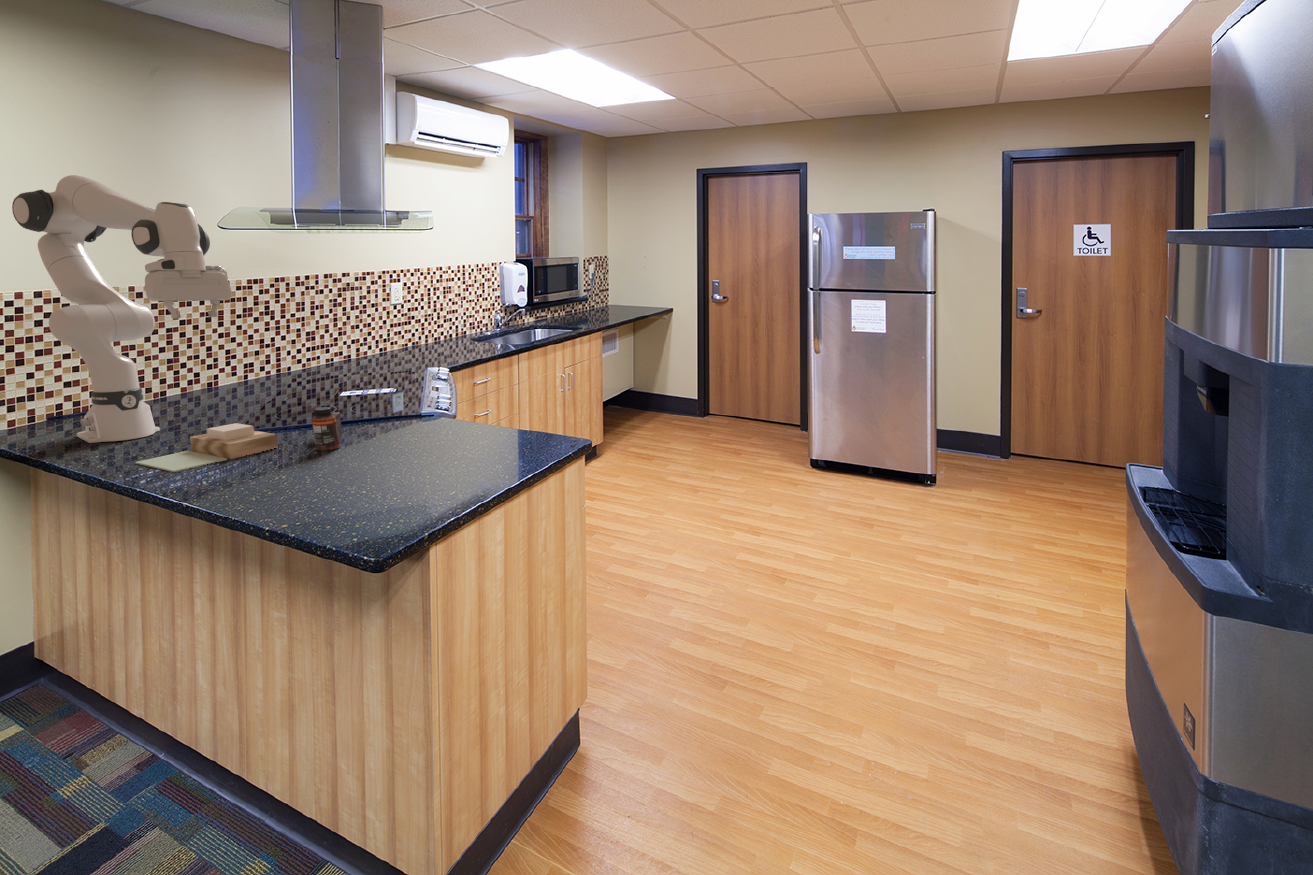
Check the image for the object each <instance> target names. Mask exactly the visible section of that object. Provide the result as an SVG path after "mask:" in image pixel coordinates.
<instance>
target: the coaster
mask: <svg viewBox="0 0 1313 875" xmlns="http://www.w3.org/2000/svg"><path fill="white" fill-rule="evenodd" d="M254 431H255V429H254V425H250V424H244V423H243V424H242V423H238V422H234V423H229V424H226V425H225V424H224V425H219V426H214V427H209V428H206V434H207V435H208V438H214V439H219V440H230V439H235V438H240V437H245V436H249V435H254Z"/></svg>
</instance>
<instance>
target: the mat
mask: <svg viewBox="0 0 1313 875" xmlns="http://www.w3.org/2000/svg"><path fill="white" fill-rule="evenodd" d="M227 460H228V458H223V457H218V456H213V455H208V454H203V453H198V452H193V451H192V450H184V451H180V452H175V453H172V454H167V455H162V456H158V457H153V458H152V457H151V458H148V459H143V460H142V459H141V460H138V461H134V462H135V464H137V465H141V466H144V467H150V468H152V469H153V468H154V469H158V470H162V471H167V472H170V473H171V472H172V473H177V472H182V471H186V470H191V469H194V468H199V467H204V466H208V465H212V464H216V463H215V462H217V463H220V462H225V461H227ZM211 463H212V464H211ZM207 464H208V465H207ZM203 465H204V466H203ZM190 468H191V469H190Z"/></svg>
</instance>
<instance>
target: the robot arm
mask: <svg viewBox="0 0 1313 875" xmlns="http://www.w3.org/2000/svg"><path fill="white" fill-rule="evenodd" d="M55 187H56V188H55V190H54V191H53V192H48V191H45V190H44V189H38V190H34V191H27V192H21V193H20V194H18V195H17V196H16V197H15V198H14V199H13V202H12V206H11V207H12V208H11V209H12V214H13V217H14V219H15V221H16V222H17V223H18V225H19V226H20V227H22V228H23V229H26V230H29V231H32V232H37V233H40V232H43V233H45V234H44V235H42V236H41V237H39V239H38V242H37V250H38V253H39V256H40V258H41V261H42V263H43V267H45V269H46V271H47V273H48V274H49V276H50V278H51V280H52V281H53V283H54V285H55V287H56V288H57V290H58V292H59V294H60V295H61V296H63V298H64V299H66V300H68V301H70V302H73V303H75V304H72V305H68V306H63V307H60V308H55V309H54V310H53V311H52V312H51V314H50V315H49V319H48V327H49V331H50V332H51V334H52V335H53V337H54V338H55V339H56V340H58V341H59V342H61V343H63V344H65V345H67V346H68V347H70V348H72V349H73V350H74V351H75V352H76V353H77V354H78V355H79V357H81V359H82V360H83V361H84V363H85V365H86V368H87V371H88V374H89V378H90V382H91V386H92V391H91V392H90V393H91V396H90V398H91V403H92V405H91V406H90V407H89V410H88V411H87V412H86V414H85V415H84V416H83V418H81V419H80V424H81V427H82V428H84V427H85V430H83V431H79V432H77V433H76V437H78V438H79V439H81V440H83V441H84V442H87V443H88V444H93V443H102V442H104V443H105V442H118V441H120V442H121V441H128V440H136V439H139V438H140V439H141V438H144V437H149V436H151V435H154V434H155V433H156V432H159V431H161V428H160V427H159V426H156V425H155V422H154V418H153V414H152V410H151V406H150V405H149V404H148V403H146V402H145V400H144V392H143V389H142V387H140V380H139V374H138V372H137V370H138V369H137V365H136V363H135V361H134V360H133V359H131V358H130V357H129V356H128V357H127V356H125V355H123V354H120V353H117V352H116V351H115V350H114V349H113V347H112V344H111V343H114V342H126V341H127V342H128V341H134V340H139V339H143V338H145V337H148V336H150V335H151V334H153V332H154V330H155V327H156V320H155V317H154V314H153V313H152V311H151V310H150V308H148V307H147V306H146V305H144V304H141V303H137V302H136V301H134V300H131V299H129V298H127V297H126V296H124V295H123V294H121V293H120V292H119V291H117V290H116V289H115V288H113V287H112V286H111V285H110V284H109V283H108V282H107V281H106V279H105V278H104V276H103V275H102V273H100V272H101V271H99V269H98V268H97V266H96V264H95V263H94V262H93V261H94V260H93V259H92V258H91V257H90V256H91V255H89V253H88V252H87V249H86V247H85V243H86V242H87V243H93V242H95V241H96V240H97V238H98V237H100V236H102V235H103V233H104V232H105V231H106V230H107V229H115V230H126V231H127V230H129V231H131V239H132V242H133V244H134V246H135V248H136V249H137V251H139V252H140V253H141V254H143V255H147V256H150V257H164V258H160V259H158V260H157V261H152V262H149V263H146V264H145V265H144V269H145V272H146V273H147V274H146V275H145V278H144V287H145V288H144V289H145V295H146V297H147V299H148V300H149V301H151V302H163V305H164V307H165V308H166V310H168V312H170V317H171V319H172V320H173V319H181V317H182V316H181V312H180V311H179V310H178V311H177V309H176V308H175V307H174V304H175V303H174V302H178V301H179V302H180V301H181V302H182V301H185V302H186V301H187V302H188V301H189V302H190V301H193V302H195V301H196V302H197V301H201V302H202V301H209V303H210V305H211V306H212V307H211V308H210V309H211V310H207V314H208V317H209V318H218V309H219V307H220V301H229V300H231V298H232V297H233V292H232V289H231V285H230V282H229V277H228V272H227V270H226V269H225V268H222V267H221V266H219V265H214V266H213V265H212V266H211V265H206V262H205V257H204V256H205V255H206V254H207V253H208V251H209V249H210V246H211V245H210V244H211V240H210V237H209V235H208V233H207V231H206V230H205V229H204V227H202V226H201V225H200V224H199V223H198V221H197V218H196V215H195V211H194V210H193V208H192V207H191V206H189V205H188V204H186V203H180V202H178V203H177V202H171V201H169V202H168V201H161V202H159V203H157V204H156V207H155V209H152V208H150V207H148V206H146V205H143V204H142V203H139V202H137V201H136V200H133V199H131V198H129V197H128V196H125V195H124V194H121V193H120V192H118V191H115V190H114V189H113V188H111V187H109V186H107V185H105V184H103V183H101V182H99V181H96V180H94V179H91V178H89V177H85V176H81V175H76V174H74V175H67V176H64V177H62V178H61V179H60V180H59V181H58V182H57V184H56V186H55Z"/></svg>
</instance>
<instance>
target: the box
mask: <svg viewBox="0 0 1313 875" xmlns="http://www.w3.org/2000/svg"><path fill="white" fill-rule="evenodd" d="M331 414H332V415H334V416H335V417H336V423H337V431H338V439H339V440H340V439H341V438H342V437H343V432H342V423H341V422H342V420H341V413H340V412H331ZM313 417H315V415H314V416H313ZM341 436H342V437H341Z"/></svg>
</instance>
